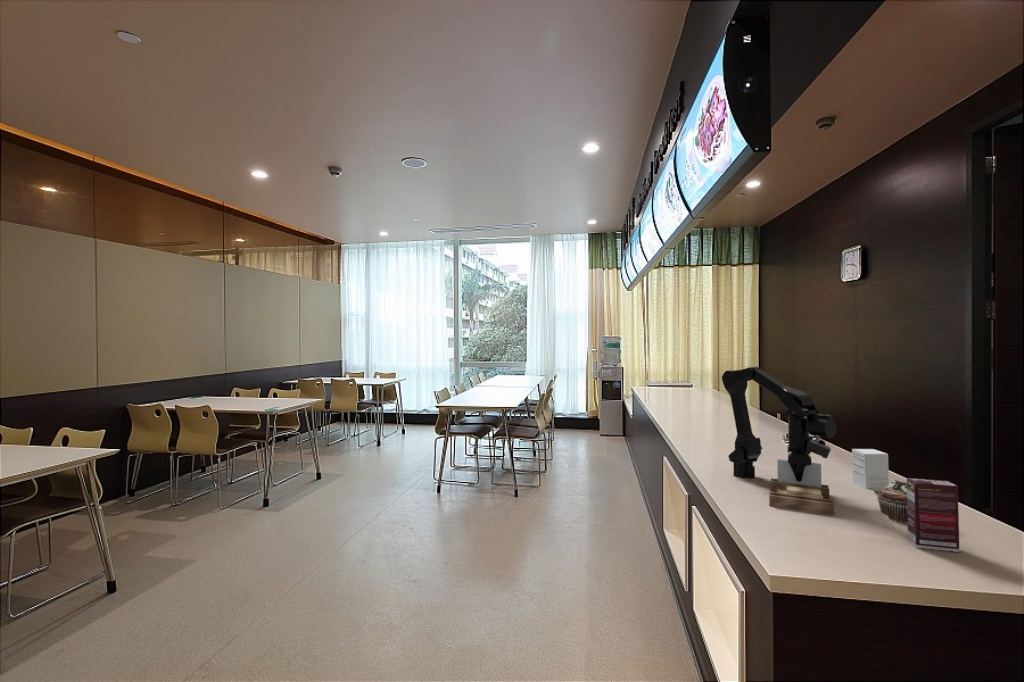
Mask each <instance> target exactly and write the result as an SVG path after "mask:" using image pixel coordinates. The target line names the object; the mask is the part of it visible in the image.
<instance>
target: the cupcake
mask: <svg viewBox="0 0 1024 682" xmlns="http://www.w3.org/2000/svg"><path fill="white" fill-rule="evenodd" d="M877 501H878V506H879V509H880V512H881V513H882V514H883V515H886V516H888V519H889V520H891V519H892V520H891V521H894V520H896V521H895V522H899V521H902V522H901V523H907V482H903V481H899V480H897V479H895V480H892V481H890V484H889V486H886V487H885V488H884V489H883V490H882V491H881V494H879V495H878V496H877Z"/></svg>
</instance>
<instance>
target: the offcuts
mask: <svg viewBox="0 0 1024 682" xmlns="http://www.w3.org/2000/svg"><path fill="white" fill-rule="evenodd" d="M777 492H778V493H786V494H793V495H800V496H808V497H815V498H823V496H822V495H821V490H816V489H808V488H800V487H792V486H787V491H785V490H778V491H777Z"/></svg>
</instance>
